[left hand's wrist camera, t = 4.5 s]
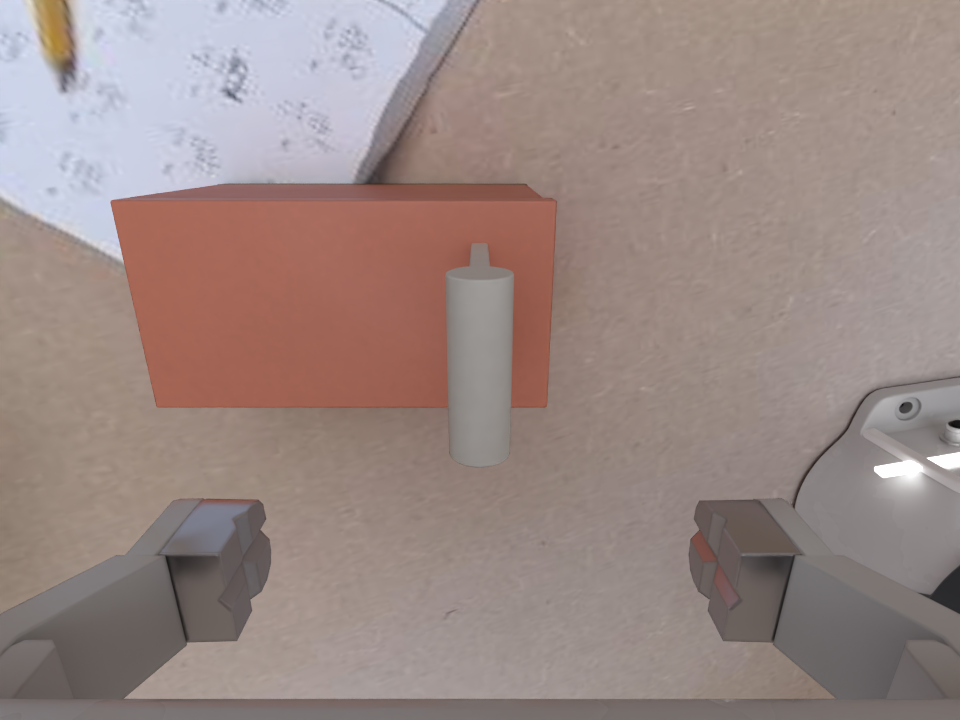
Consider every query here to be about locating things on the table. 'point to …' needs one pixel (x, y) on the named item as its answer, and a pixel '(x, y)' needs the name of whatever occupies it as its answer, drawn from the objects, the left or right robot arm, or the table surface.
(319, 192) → the chest
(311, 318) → the lid
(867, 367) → the table surface
